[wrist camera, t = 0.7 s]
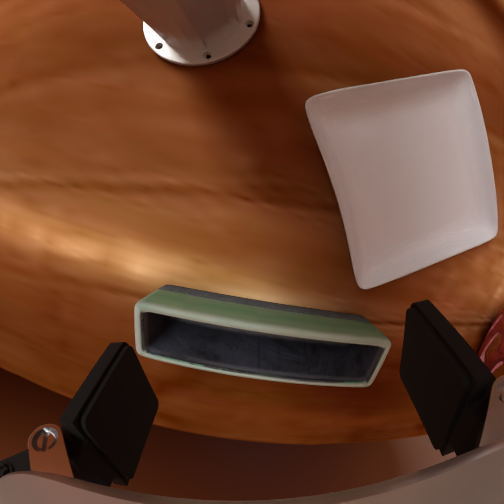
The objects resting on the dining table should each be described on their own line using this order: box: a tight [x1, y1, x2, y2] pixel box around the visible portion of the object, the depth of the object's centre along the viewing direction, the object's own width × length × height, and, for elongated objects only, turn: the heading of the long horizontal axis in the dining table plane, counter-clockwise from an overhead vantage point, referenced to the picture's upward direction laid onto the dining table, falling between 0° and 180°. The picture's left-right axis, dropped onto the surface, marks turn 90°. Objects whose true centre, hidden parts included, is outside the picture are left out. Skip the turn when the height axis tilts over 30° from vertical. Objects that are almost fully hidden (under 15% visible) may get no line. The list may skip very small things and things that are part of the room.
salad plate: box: [305, 70, 498, 289], centre depth 28 cm, size 21×21×3 cm
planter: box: [134, 285, 391, 387], centre depth 33 cm, size 28×7×7 cm, turn 80°
